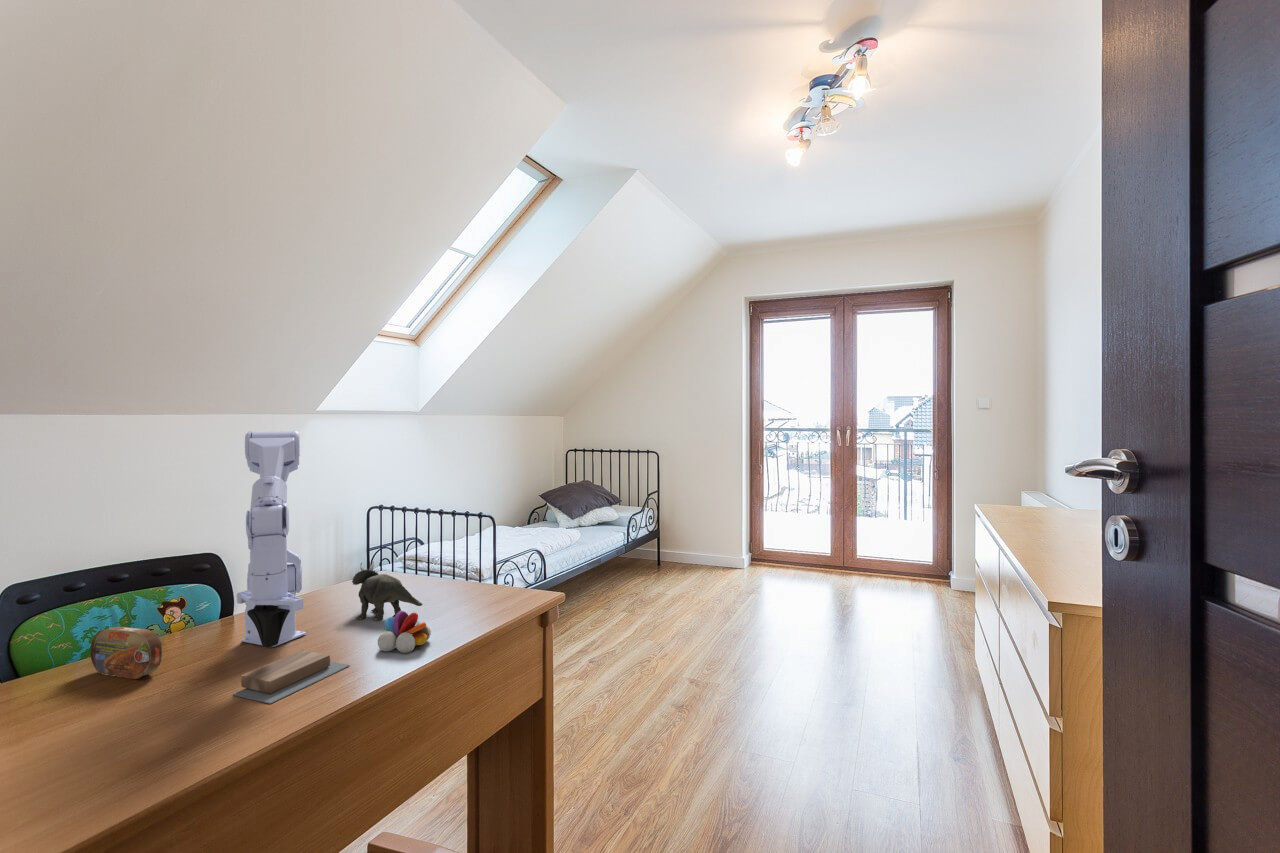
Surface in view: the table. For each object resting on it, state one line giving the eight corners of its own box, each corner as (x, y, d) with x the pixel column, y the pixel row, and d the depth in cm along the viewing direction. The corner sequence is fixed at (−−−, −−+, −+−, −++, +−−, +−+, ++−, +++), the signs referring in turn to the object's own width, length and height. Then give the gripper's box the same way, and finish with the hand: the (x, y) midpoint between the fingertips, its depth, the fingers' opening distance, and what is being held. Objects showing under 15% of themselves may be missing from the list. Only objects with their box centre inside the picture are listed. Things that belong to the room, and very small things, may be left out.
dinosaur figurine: (427, 619, 140) (426, 571, 139) (395, 630, 133) (394, 580, 132) (369, 604, 152) (369, 559, 151) (337, 613, 144) (336, 567, 144)
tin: (88, 673, 112) (87, 627, 112) (107, 666, 115) (106, 622, 115) (148, 682, 108) (147, 635, 107) (166, 675, 111) (165, 629, 110)
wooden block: (241, 675, 104) (269, 681, 102) (302, 650, 116) (329, 655, 113) (241, 688, 104) (270, 694, 102) (302, 661, 116) (330, 667, 113)
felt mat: (232, 695, 102) (232, 694, 102) (314, 659, 117) (314, 658, 117) (270, 704, 99) (270, 702, 99) (349, 666, 114) (349, 664, 114)
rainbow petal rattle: (414, 656, 118) (413, 620, 118) (370, 653, 120) (369, 617, 120) (437, 640, 127) (436, 606, 127) (395, 637, 129) (395, 604, 128)
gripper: (219, 573, 109) (221, 648, 109) (277, 581, 104) (278, 659, 104) (256, 564, 115) (258, 634, 116) (312, 571, 110) (314, 644, 110)
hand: (270, 645), depth 110 cm, fingers closed
